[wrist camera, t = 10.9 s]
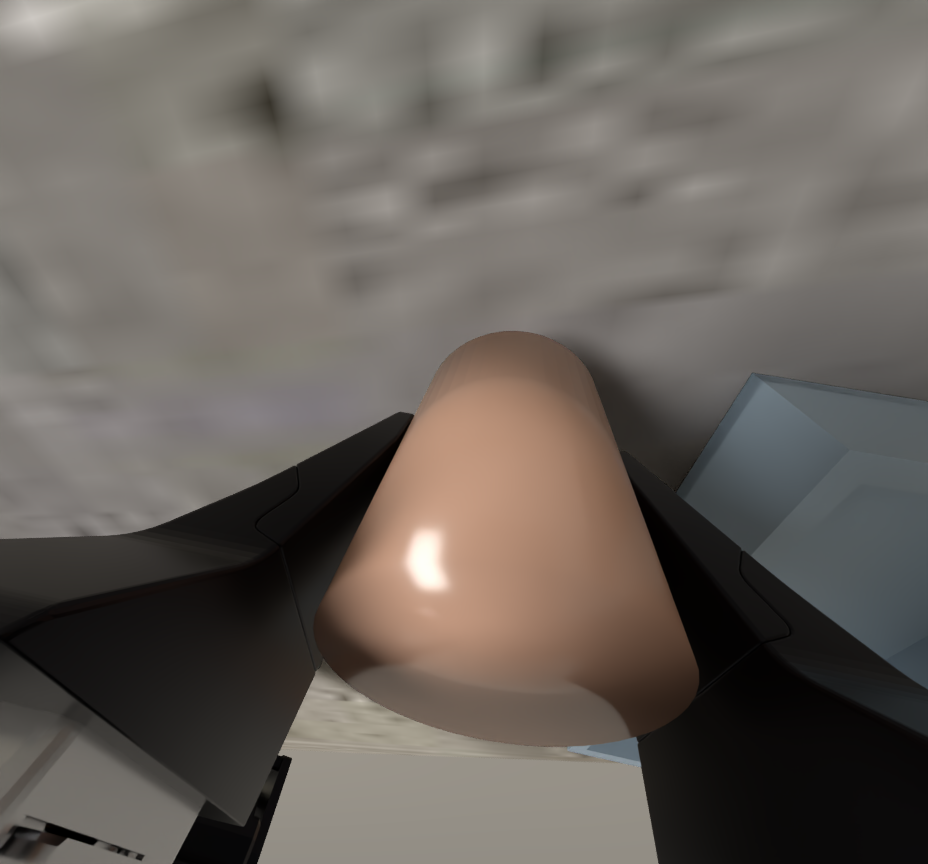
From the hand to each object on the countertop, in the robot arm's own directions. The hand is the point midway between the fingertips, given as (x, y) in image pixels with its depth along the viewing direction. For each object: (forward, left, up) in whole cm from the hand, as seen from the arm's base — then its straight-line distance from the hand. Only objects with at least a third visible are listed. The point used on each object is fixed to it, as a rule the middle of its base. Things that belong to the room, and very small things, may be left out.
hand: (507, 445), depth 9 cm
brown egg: (0, 0, -2) cm, 2 cm away
